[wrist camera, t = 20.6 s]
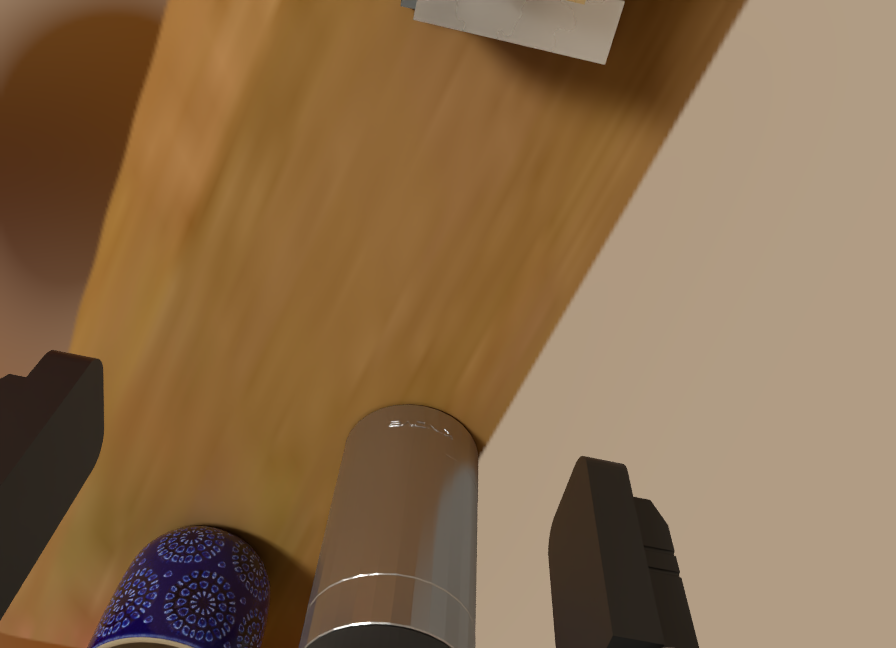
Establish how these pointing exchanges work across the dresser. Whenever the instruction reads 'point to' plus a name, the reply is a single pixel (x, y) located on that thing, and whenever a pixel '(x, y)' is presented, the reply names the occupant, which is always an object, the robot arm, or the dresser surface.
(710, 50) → the dresser surface
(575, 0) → the brass block
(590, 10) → the vise
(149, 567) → the planter
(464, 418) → the dresser surface
